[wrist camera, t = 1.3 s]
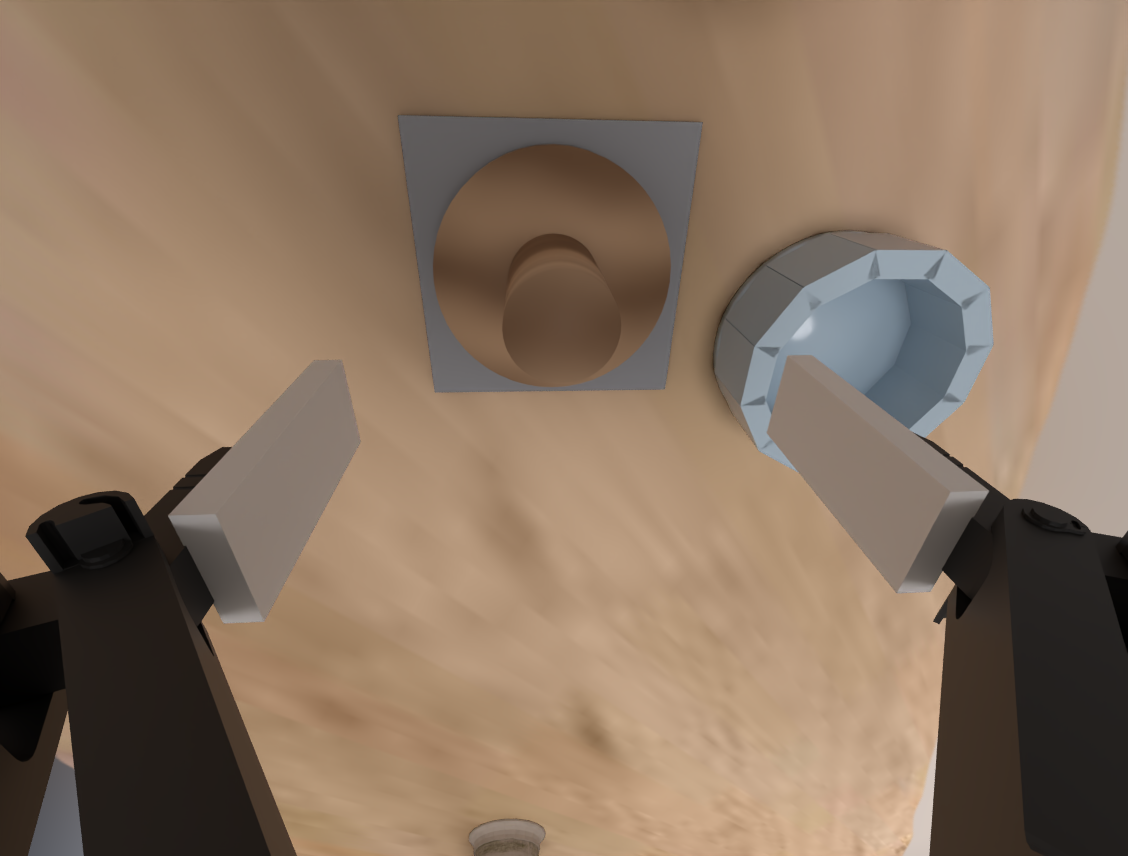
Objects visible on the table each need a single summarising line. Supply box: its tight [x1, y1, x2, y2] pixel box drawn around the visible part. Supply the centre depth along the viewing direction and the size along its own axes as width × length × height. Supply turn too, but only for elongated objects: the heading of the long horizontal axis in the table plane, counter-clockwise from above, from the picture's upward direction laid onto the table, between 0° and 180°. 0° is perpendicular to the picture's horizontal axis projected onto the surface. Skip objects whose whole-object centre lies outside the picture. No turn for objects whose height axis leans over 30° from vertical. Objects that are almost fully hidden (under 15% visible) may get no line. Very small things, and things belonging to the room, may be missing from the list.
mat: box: [398, 115, 703, 392], centre depth 26 cm, size 14×14×1 cm
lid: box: [433, 144, 671, 387], centre depth 23 cm, size 12×12×8 cm
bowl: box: [713, 230, 993, 473], centre depth 27 cm, size 12×12×5 cm
